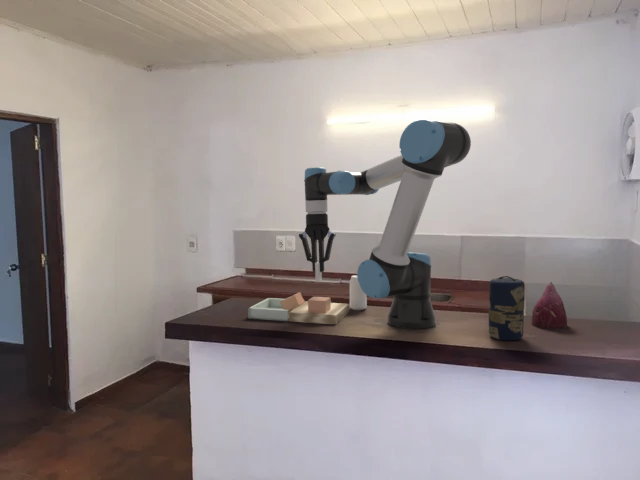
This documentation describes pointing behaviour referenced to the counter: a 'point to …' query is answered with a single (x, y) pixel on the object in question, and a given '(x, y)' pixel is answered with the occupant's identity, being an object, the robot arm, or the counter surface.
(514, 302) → the canister
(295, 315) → the board
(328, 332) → the counter surface
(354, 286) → the beverage can
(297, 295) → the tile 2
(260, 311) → the tray
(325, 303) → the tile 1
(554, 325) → the vegetable
